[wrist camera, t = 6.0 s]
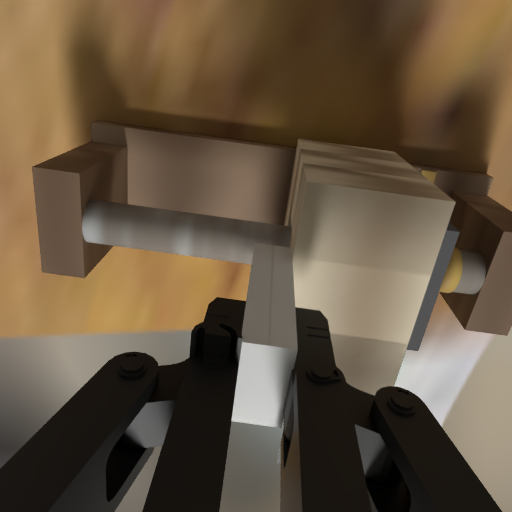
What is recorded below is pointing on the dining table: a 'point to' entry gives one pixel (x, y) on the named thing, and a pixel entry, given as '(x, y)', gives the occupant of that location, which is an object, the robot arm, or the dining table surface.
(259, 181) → the pipe stand
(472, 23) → the dining table surface
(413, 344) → the dark grey flat block
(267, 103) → the dining table surface
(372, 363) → the sleeve
